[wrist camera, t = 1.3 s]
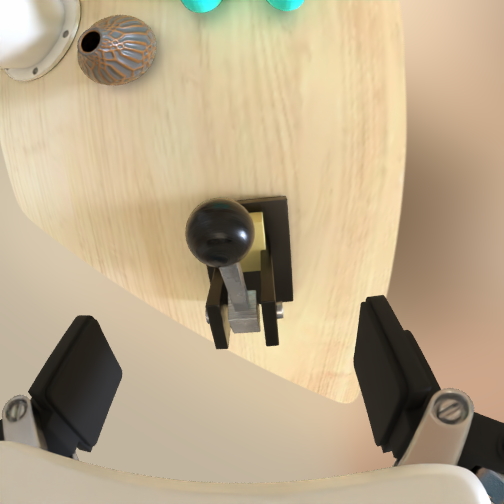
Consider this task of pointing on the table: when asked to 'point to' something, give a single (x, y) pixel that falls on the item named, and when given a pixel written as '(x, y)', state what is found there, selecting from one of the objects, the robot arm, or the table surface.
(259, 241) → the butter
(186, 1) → the turquoise capsule pair
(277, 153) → the table surface
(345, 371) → the table surface
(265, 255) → the black lever base
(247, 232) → the ball knob lever
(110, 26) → the vase
